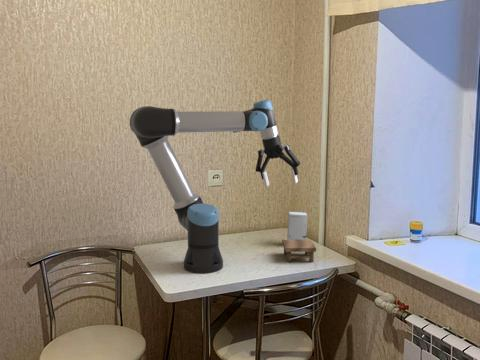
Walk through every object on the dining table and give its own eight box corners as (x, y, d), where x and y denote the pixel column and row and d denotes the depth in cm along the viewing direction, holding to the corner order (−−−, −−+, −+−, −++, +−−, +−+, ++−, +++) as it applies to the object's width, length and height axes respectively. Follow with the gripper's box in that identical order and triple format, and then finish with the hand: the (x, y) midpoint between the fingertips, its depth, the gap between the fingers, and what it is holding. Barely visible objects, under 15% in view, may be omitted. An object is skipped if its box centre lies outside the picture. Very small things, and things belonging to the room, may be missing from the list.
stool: (285, 262, 172) (285, 248, 171) (281, 253, 183) (282, 239, 183) (315, 262, 172) (316, 248, 171) (310, 253, 184) (310, 239, 183)
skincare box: (287, 247, 193) (288, 214, 191) (286, 243, 199) (287, 211, 197) (306, 247, 192) (307, 214, 190) (305, 243, 198) (306, 211, 196)
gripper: (300, 130, 181) (311, 178, 185) (248, 139, 193) (259, 184, 198) (294, 134, 174) (306, 183, 179) (240, 143, 187) (252, 189, 191)
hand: (281, 184), depth 188 cm, fingers open, 13 cm apart
